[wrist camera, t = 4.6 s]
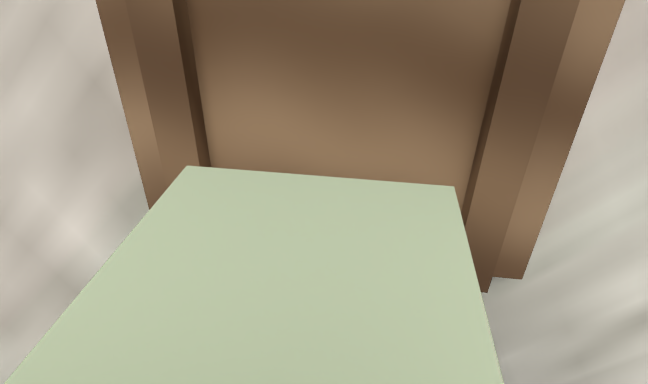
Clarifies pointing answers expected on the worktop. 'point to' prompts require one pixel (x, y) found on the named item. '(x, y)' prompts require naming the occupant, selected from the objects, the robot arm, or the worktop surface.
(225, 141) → the channel board
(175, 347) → the block
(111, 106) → the worktop surface
